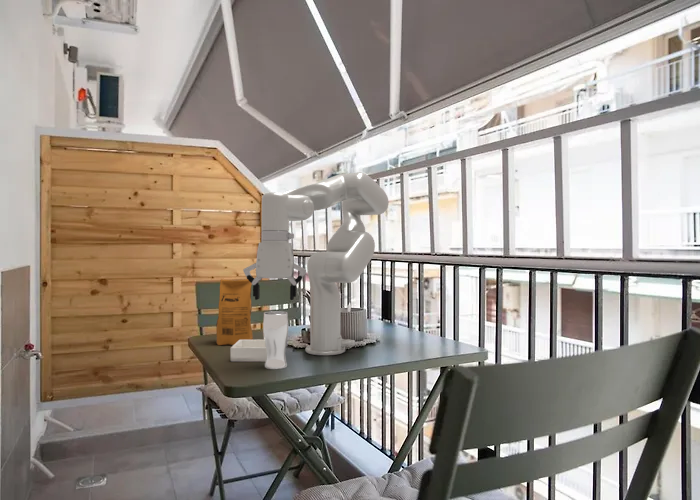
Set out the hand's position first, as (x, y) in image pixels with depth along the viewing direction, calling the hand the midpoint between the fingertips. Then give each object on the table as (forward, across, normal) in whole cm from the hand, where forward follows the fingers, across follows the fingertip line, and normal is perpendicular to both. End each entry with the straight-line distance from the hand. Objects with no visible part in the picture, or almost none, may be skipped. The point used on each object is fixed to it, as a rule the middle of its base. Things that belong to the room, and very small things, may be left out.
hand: (274, 299), depth 136 cm
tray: (+19, +8, -13) cm, 24 cm away
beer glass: (+19, 0, -1) cm, 19 cm away
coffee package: (+19, +19, -34) cm, 43 cm away
